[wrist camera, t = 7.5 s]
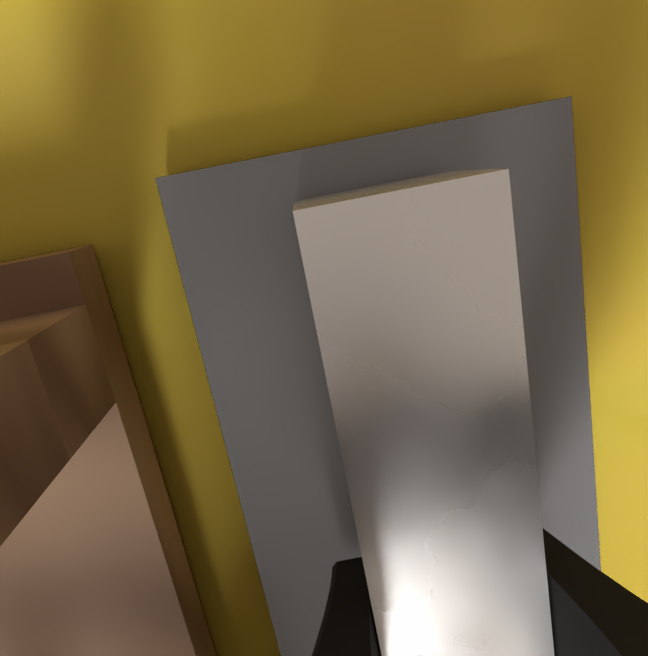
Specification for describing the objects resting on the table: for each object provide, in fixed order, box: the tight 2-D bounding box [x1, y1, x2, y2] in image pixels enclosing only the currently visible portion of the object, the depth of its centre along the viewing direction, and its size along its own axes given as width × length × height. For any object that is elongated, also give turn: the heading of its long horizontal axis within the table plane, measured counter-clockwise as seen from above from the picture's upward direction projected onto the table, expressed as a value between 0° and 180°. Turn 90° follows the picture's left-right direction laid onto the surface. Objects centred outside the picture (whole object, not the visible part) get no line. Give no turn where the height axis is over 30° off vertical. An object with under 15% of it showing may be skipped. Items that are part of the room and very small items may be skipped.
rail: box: [293, 169, 554, 656], centre depth 11 cm, size 16×3×3 cm, turn 11°
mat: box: [155, 97, 601, 656], centre depth 13 cm, size 18×8×1 cm, turn 11°
